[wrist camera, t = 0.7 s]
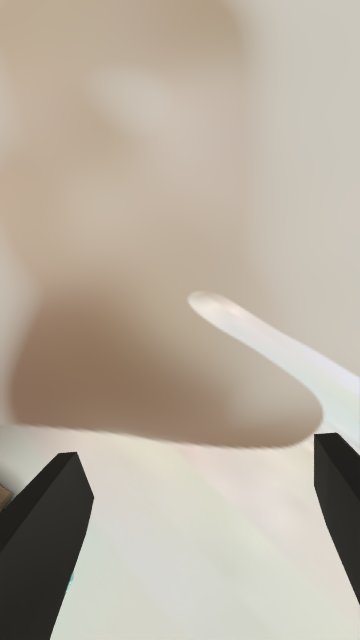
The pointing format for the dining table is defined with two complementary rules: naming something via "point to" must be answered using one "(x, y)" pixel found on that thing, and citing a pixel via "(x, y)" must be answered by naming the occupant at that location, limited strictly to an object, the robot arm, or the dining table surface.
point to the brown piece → (4, 497)
